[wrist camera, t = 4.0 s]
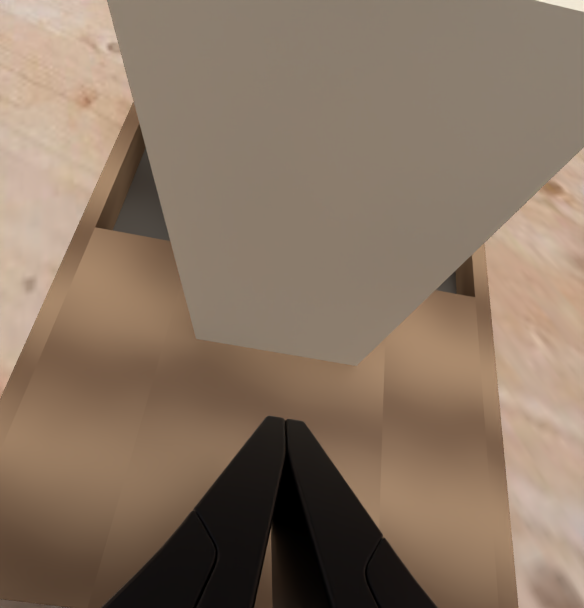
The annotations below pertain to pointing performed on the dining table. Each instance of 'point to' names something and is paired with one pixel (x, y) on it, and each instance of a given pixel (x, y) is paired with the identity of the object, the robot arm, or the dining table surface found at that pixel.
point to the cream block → (343, 150)
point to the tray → (234, 418)
